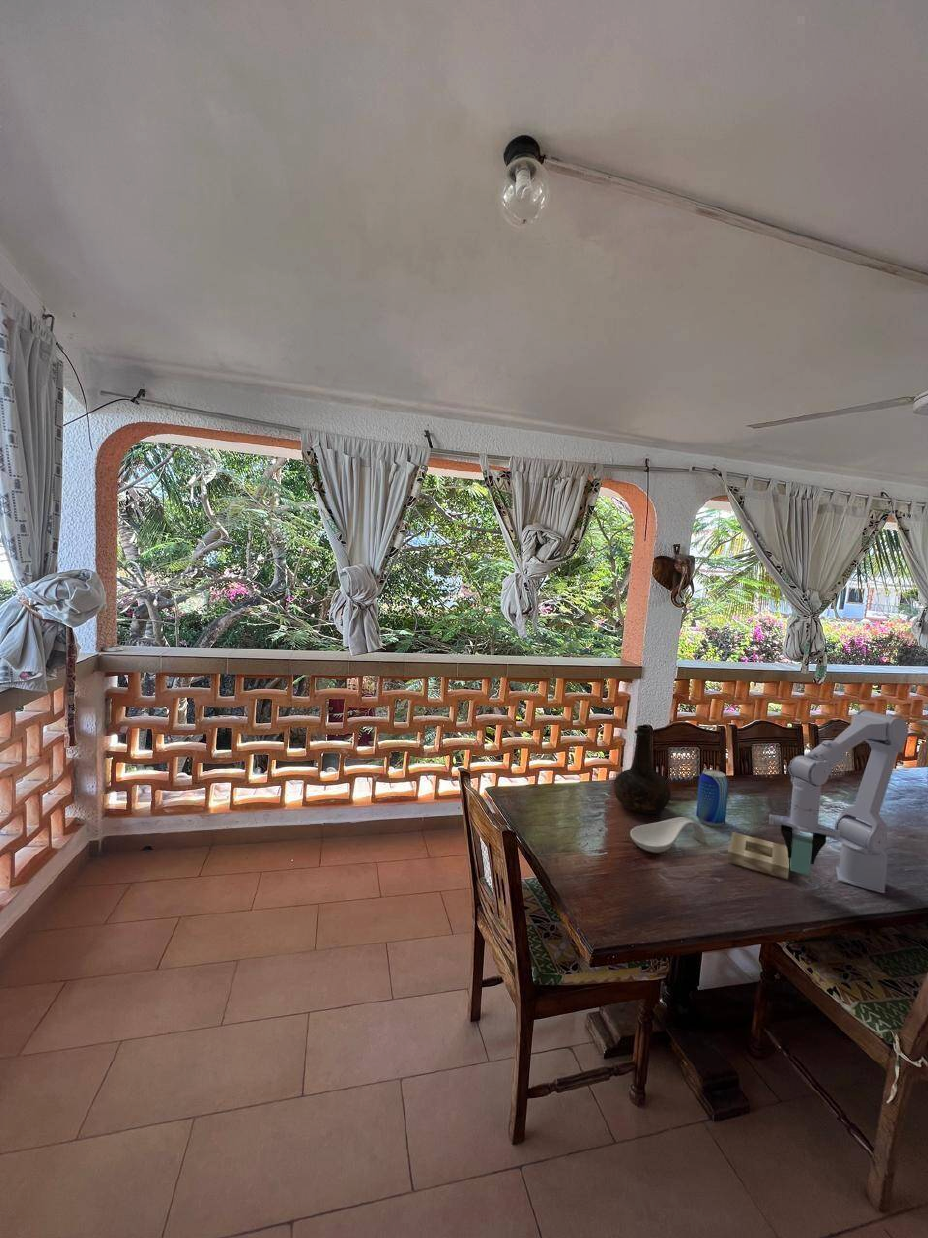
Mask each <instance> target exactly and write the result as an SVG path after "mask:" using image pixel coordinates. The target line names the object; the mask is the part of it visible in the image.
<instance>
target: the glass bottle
mask: <svg viewBox="0 0 928 1238" xmlns="http://www.w3.org/2000/svg"><path fill="white" fill-rule="evenodd" d="M634 734H636V739H635V740H636V741H635V747H634V754H633V758H632V764H631V767H630V768H629V769H626V770H623V771H621V772H619V774H617V775H616V777H615V779H614V781H613V792H614V795H615V797H616V799H617V801H618V802H619V803H620V804H621V805H622V806H623V807H624V808H625V809H627V810H629V811H631V812H634V813H638V814H641V815H642V814H643V815H651V814H657V813H659V812H661V811H663V810H664V809H666V807H667V806H668V804H669V803H670V799H671V788H670V785H669V783H668V782H667V780H666V779H665V778H664V776H663V775H662V774H661V773H660V772H658V771H656V770H654V769H653V764H652V763H653V762H652V755H651V754H652V753H651V752H652V751H651V735H653V734H654V732H653V731H652V727H650V726H649V725H646V724H644V725H643V724H640V725H637V727H636V729H635V730H634Z"/></svg>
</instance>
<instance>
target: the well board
mask: <svg viewBox="0 0 928 1238" xmlns="http://www.w3.org/2000/svg"><path fill="white" fill-rule="evenodd" d="M726 862H727V863H728V864H733V865H736V866H740V867H743V868H746V869H749V870H750V869H751V870H754V871H757V872H761V873H763V874H767V875H771V876H774V877H778V878H781V879H784V880H789V872H790V858H788V851H787V846H786V844H781V843H776V842H773V841H769V840H764V839H761V838H759V837H758V838H757V837H754V836H750V835H746V834H742V833H739V832H735V831H732V833H731V838H730V843H729V847H728V850H727V861H726Z"/></svg>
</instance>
